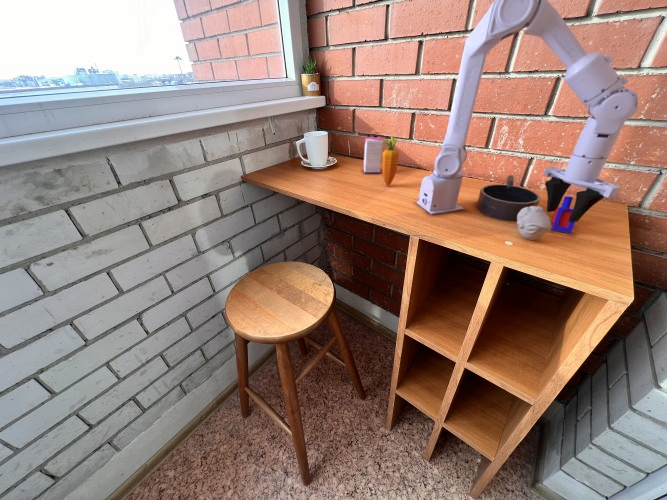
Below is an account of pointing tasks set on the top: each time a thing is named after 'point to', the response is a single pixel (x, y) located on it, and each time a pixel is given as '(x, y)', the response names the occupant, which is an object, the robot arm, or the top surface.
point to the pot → (505, 201)
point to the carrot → (389, 161)
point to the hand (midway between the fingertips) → (561, 215)
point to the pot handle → (510, 181)
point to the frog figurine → (533, 222)
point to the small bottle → (563, 217)
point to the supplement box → (372, 155)
